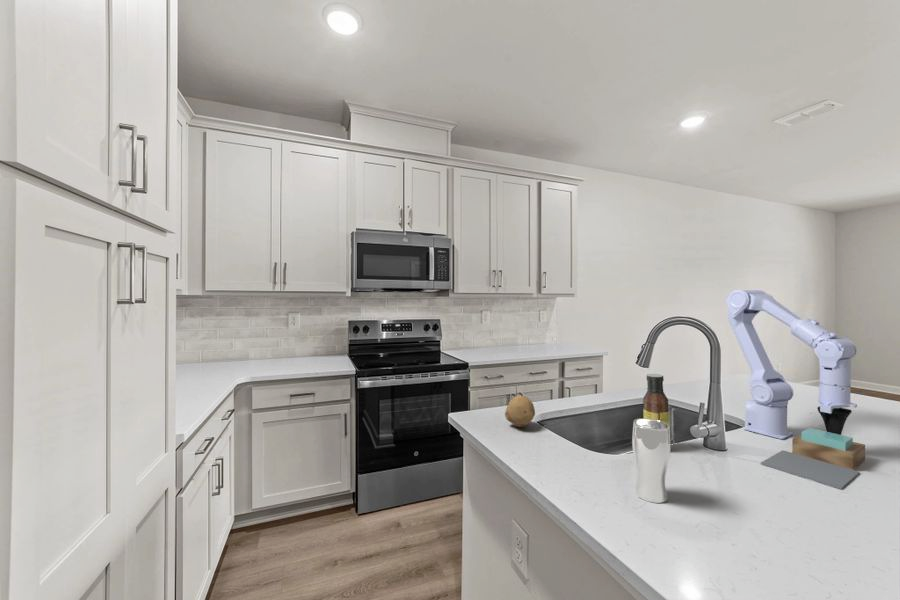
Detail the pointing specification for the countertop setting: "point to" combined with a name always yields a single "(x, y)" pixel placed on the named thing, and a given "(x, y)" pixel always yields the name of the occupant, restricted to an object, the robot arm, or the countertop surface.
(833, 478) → the mat
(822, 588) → the countertop surface
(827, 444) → the tile
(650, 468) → the beer glass
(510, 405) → the tan round lump
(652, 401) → the sauce bottle
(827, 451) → the block
